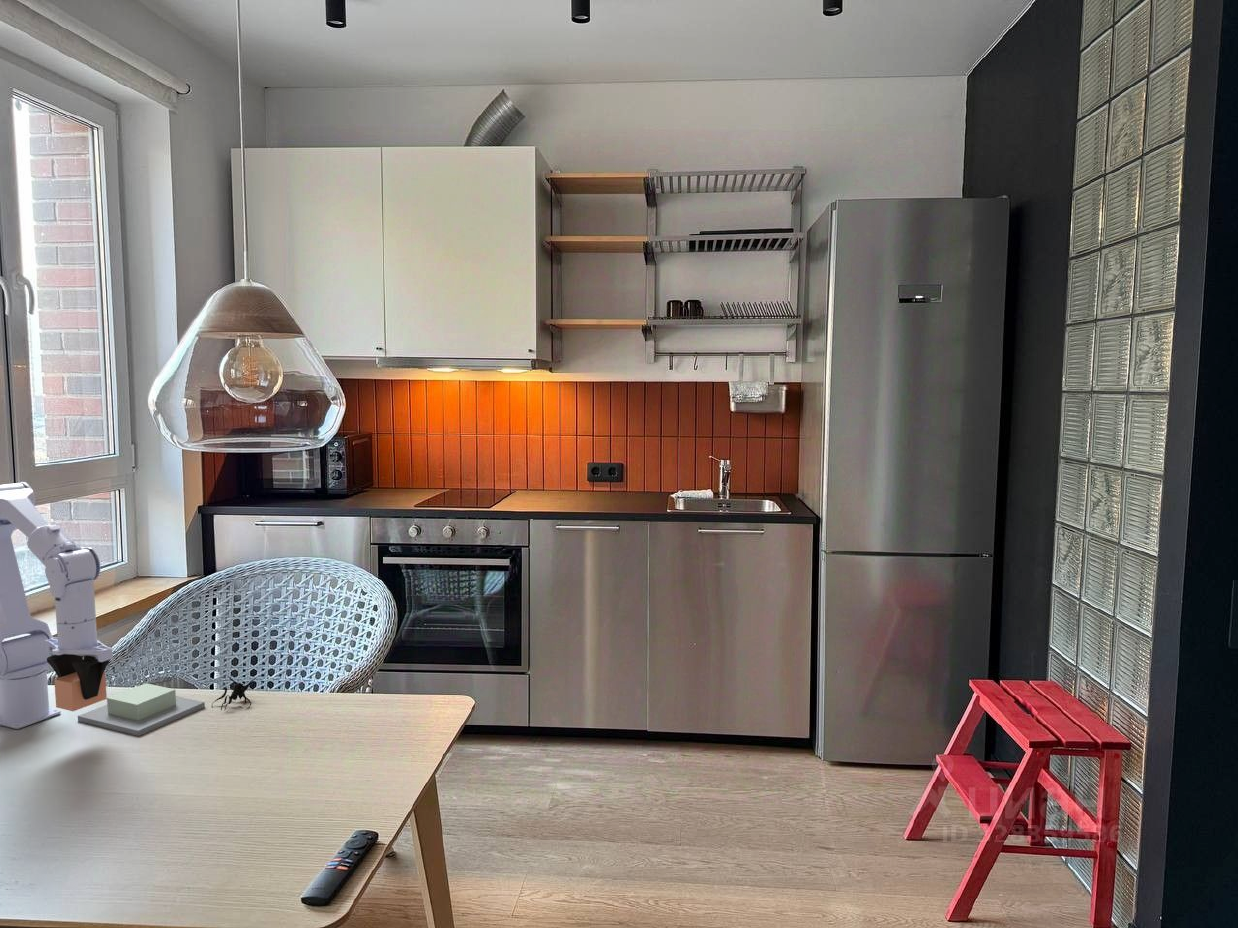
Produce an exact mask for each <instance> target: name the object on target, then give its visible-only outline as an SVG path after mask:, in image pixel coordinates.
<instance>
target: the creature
mask: <svg viewBox="0 0 1238 928" xmlns="http://www.w3.org/2000/svg"><path fill="white" fill-rule="evenodd" d="M227 677H228V678H229V679H230V680H229V681H232V682H233V683H234V684H235V685H234V687H233V686H232V685H229V687H230V688H231V689H233V690H230V691H231V694H230V695H229V694H228V695H227V693H228V688H227V687H226V686H224V687H223V688H222V689H224V692H223V694H222V695H221V696H219V697H218V698H217V699H214V701H213V702H212V703H211V708H212V709H213V708H214V707H213V704H214V703H215V702H218V701H219V700H222V699H223V698H224V701H223V703H221V706H217V707H216V708H220V711H222V710H223V707H224V711H226V709H227V707H228V705H231V703H232V702H233V701H236V700H237V699H238V698H239V700H242V698H244V704H246V703H247V701H248V703H250V704H249V706H248V707H247V708H246V710H248V709H249V708H250V707H251V706H252V702H251V700H250V699H249V698H248V697H247V696H246V693H245V692H246V691H247V690H248V689H249V687H250V685H251V684H252V683H253V682H254V681H255V680H256V679H258V677H256V676H255V677H254V678H253V679H251V680H250V681H249V682H248V683H247V684H245V685H243V683H241V682H238V681H237V682H236V681H235V680H233V678H231V677H230V676H229V675H227ZM227 699H228V701H227ZM237 707H239V708H241V709H243V707H242V706H241V705H239V706H237Z"/></svg>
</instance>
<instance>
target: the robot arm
mask: <svg viewBox="0 0 1238 928" xmlns="http://www.w3.org/2000/svg"><path fill="white" fill-rule="evenodd" d="M16 530H19V531H20V532H21V533H22V534H23V535H25V536H26V537H27V542H26V544H27V548H28V549H29V550H30V552H32V553H33V555H34V556H35V557H36V558H37V559H38V560H39V561H40V562H41V564H42V565H43V566H44V567H45V568H44V573H45V577H46V580H47V582H48V584H49V591H50V593H51V596H52V597H54V607H55V619H56V624H55V625H56V635H57V636H55V637H54V636H53V634H52V632H51V629H50V626H49V625H48V622H45V621H42V620H40V619H37V618H35V617H33V616H31V612H30V607H29V604H28V598H27V596H26V591H25V587H24V583H23V579H22V576H21V575H22V574H21V572H20V569H19V564H18V560H17V556H16V551H15V547H14V543H13V540H12V535H13V534H14V532H15V531H16ZM100 573H101V561H100V559H99V556H98V554H97V552H96V551H95V550H94V549H93V548H92V547H88V546H87V547H84V545H82V546H78V544H76V542H75V541H74V540H73V539H72V538H71V537H70V536H69V535H68V534H67V533H66V532H65V531H64V530H63V529H62V528H61V527H60V526H58V525H55V524H48V522H47V521H46V520H45V518H44V517H43V516H42V514H41V512H39V510H38V508H36V495H35V493H34V490H33V488H32V487H31V486H30V484H29V483H27V482H25V481H19V482H17V483H16V482H15V483H5V484H0V726H4V727H8V728H11V729H14V730H15V729H16V730H18V729H19V730H20V729H22V728H25V727H27V726H30V725H33V724H35V723H38V722H41V721H43V720H47V719H49V718H51V717H54V716H56V715H60V714H61V713H62V712H61V710H59V709H55V708H52V707H51V708H50V701H49V688H48V687H49V686H48V674H47V672H48V671H47V670H48V669H50V668H52V669H53V671H54V673H55V675H56V676H57V678H60V677H63V676H66V675H69V674H72V673H75V672H77V674H78V677H79V680H80V684H81V691H82V695H83V697H84V699H90V698H93V697H95V696H98V692H99V687H100V683H101V679H102V676H103V673H104V671H105V670H106V669H107V667H108V666H109V665H108V664H109V663H110V661H111V660H112V659H113V648H112V647H109V646H107V645H106V644H104V643H103V642H101V640H99V639H98V633H97V631H98V630H97V617H96V616H97V613H96V601H95V597H96V596H95V583H94V582H95V580H97V579H98V578H99V576H100ZM26 634H28V635H26ZM21 635H24V636H21ZM17 636H19V637H17ZM20 636H21V637H20ZM14 637H17V638H14ZM9 638H13V639H9ZM5 639H8V640H5ZM105 672H106V671H105Z"/></svg>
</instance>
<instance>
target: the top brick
mask: <svg viewBox="0 0 1238 928" xmlns="http://www.w3.org/2000/svg"><path fill="white" fill-rule="evenodd" d="M106 678H107V677H106V671H104V673H103V676H102V679H101V683H100V687H99V692H98V696H95V697H93V698H90V699H84V697H83V695H82V691H81V684H80V680H79V677H78V674H77V672H75V673H72V674H69V675H66V676H63V677H60V678H58V677H57V678H54V679H53V682H54V695H55V708H57V709H62V710H65V711H69V712H75V711H76V712H77V711H78V710H81V709H84V708H86V707H89V706H91V705H94V704H96V703H99V702H102V701H105V700H107V698H108V697H107V696H108V695H107V681H106Z"/></svg>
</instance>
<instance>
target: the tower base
mask: <svg viewBox="0 0 1238 928" xmlns="http://www.w3.org/2000/svg"><path fill="white" fill-rule="evenodd" d="M203 708H206V706H205V701H201V700H196V699H191V698H187V697H182V696H177V695H176V689H175V688H169V687H165V686H160V685H156V684H151V683H147V682H146V683H143V684H141V685H138V686H135V687H132V688H129V689H127V690H124V691H122V692H119V693H117V694H114V695H111V696H108V697H107V699H106V705H102V706H100V707H98V708H95V709H91V710H90V711H87V712H85V713H81V714H79V715H77V721H78V722H79V723H84V724H89V725H92V726H97V727H101V728H105V729H108V730H113V731H116V732H119V733H120V732H121V733H124V734H129V735H132V736H137V737H139V736H141V735H144V734H148V733H149V732H151V731H153V730H155V729H157V728H160V727H162V726H165V725H166V724H170V723H171V722H173V721H177V720H178V719H181V718H183V717H186V716H187V715H190V714H193V713H194V712H196V711H199V710H201V709H202V710H203Z"/></svg>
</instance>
